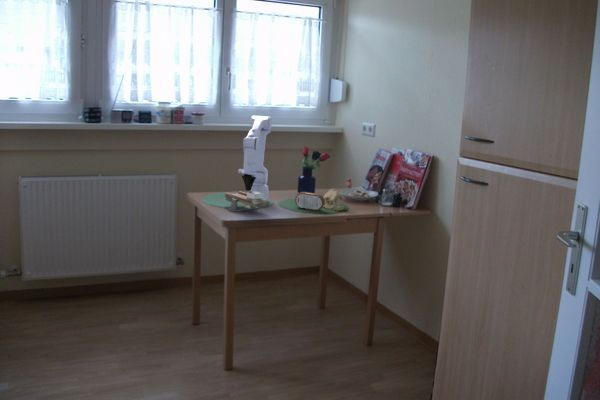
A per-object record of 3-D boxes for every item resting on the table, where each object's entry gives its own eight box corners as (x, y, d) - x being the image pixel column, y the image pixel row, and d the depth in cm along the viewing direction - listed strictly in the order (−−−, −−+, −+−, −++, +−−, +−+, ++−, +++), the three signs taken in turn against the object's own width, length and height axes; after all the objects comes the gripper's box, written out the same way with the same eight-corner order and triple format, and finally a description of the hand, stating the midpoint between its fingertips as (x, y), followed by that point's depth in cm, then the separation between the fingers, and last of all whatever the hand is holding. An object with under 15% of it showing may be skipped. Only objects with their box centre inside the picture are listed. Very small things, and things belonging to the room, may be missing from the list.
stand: (251, 206, 301) (251, 195, 299) (257, 208, 297) (258, 197, 296) (228, 209, 291) (228, 198, 290) (234, 211, 288) (235, 200, 286)
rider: (254, 199, 291) (255, 191, 290) (262, 202, 286) (263, 193, 285) (246, 200, 287) (247, 191, 286) (254, 203, 283) (254, 194, 282)
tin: (324, 210, 303) (325, 194, 301) (322, 211, 300) (323, 195, 298) (296, 206, 307) (297, 190, 306) (293, 207, 304) (295, 191, 303)
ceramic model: (316, 205, 315) (318, 186, 313) (335, 204, 320) (336, 185, 318) (330, 211, 303) (332, 191, 301) (349, 210, 308) (351, 191, 306)
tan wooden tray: (240, 198, 303) (240, 189, 302) (268, 208, 288) (268, 199, 287) (224, 200, 297) (224, 191, 296) (252, 210, 281) (252, 200, 280)
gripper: (233, 160, 290) (232, 188, 293) (252, 165, 280) (251, 193, 282) (245, 159, 295) (244, 187, 297) (264, 164, 284) (263, 192, 287)
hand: (248, 190), depth 290 cm, fingers closed
